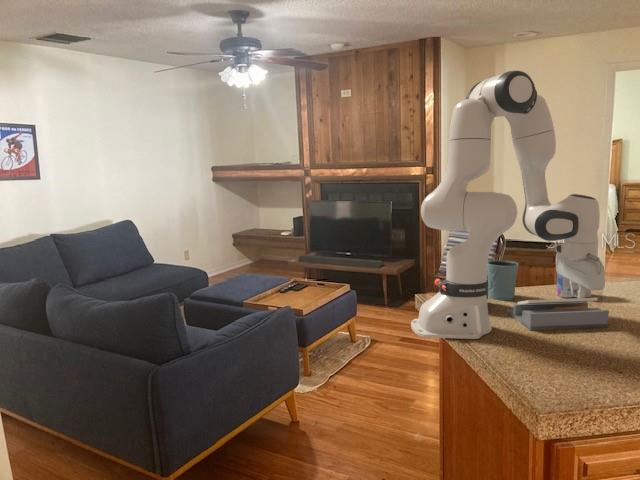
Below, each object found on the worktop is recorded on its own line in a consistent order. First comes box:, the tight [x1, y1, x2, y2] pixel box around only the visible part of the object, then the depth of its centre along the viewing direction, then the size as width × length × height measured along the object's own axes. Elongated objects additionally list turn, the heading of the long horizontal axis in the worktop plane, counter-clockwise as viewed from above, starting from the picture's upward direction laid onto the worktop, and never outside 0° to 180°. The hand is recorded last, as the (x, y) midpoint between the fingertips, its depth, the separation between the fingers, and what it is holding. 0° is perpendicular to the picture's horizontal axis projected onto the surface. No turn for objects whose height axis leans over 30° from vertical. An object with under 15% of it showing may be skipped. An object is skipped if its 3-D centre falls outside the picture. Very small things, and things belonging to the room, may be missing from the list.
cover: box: [517, 297, 599, 305], centre depth 149 cm, size 20×8×1 cm, turn 92°
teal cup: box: [487, 259, 520, 301], centre depth 175 cm, size 10×10×12 cm
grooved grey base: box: [507, 302, 610, 331], centre depth 150 cm, size 22×16×5 cm
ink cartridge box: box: [556, 272, 592, 299], centre depth 173 cm, size 10×6×14 cm, turn 89°
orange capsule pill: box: [552, 306, 587, 310], centre depth 149 cm, size 11×3×3 cm, turn 92°
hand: (578, 296), depth 149 cm, fingers closed
